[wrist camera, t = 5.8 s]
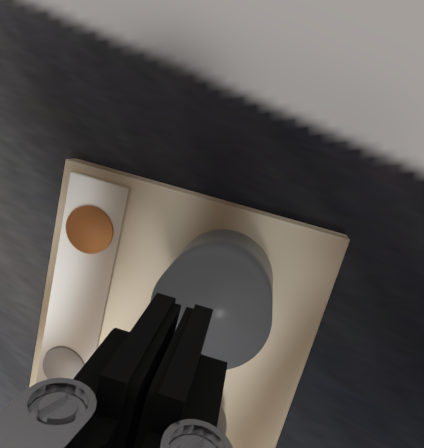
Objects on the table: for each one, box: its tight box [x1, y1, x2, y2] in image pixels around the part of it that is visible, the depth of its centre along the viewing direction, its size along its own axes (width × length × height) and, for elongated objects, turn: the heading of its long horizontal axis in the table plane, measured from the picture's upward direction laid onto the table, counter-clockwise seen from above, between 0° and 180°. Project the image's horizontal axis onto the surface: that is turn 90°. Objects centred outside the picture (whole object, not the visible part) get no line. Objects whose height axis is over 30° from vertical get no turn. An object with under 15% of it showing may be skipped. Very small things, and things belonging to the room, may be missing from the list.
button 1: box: [150, 229, 273, 370], centre depth 16 cm, size 4×4×4 cm
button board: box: [29, 158, 350, 448], centre depth 21 cm, size 14×22×2 cm, turn 165°
